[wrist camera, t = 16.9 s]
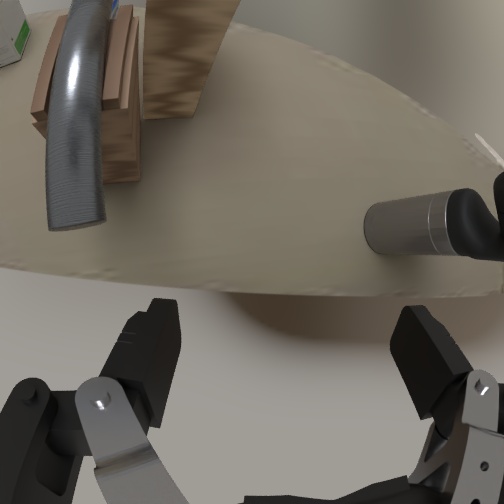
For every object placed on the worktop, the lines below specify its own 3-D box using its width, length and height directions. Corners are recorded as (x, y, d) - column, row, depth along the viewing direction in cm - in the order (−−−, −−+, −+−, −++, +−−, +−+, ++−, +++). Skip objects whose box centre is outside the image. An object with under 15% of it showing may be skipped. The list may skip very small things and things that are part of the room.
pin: (121, -23, 14) (122, -48, 11) (111, 223, 15) (100, 217, 12) (85, -16, 13) (83, -41, 10) (59, 232, 14) (39, 229, 11)
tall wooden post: (140, 119, 35) (139, 4, 14) (140, 180, 35) (126, 97, 14) (92, 124, 33) (52, 17, 11) (90, 186, 33) (23, 114, 12)
